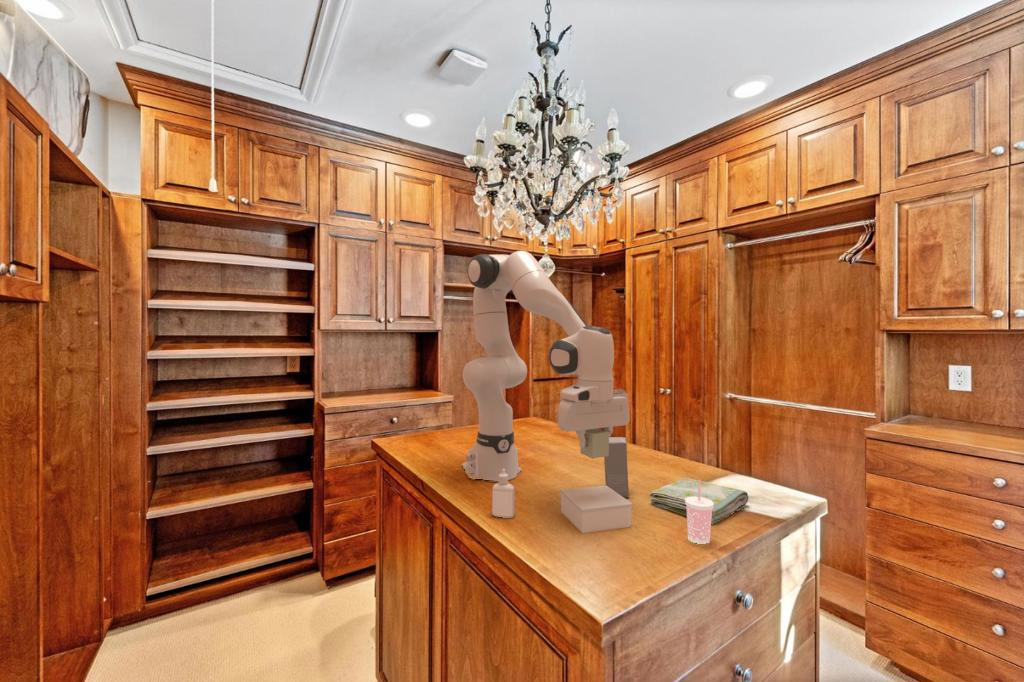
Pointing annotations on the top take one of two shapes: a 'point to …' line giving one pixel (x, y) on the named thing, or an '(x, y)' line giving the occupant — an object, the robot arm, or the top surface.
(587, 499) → the storage box
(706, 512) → the beverage cup
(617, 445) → the skincare box
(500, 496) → the eye dropper bottle
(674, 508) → the towel
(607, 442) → the green block
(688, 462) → the top surface
